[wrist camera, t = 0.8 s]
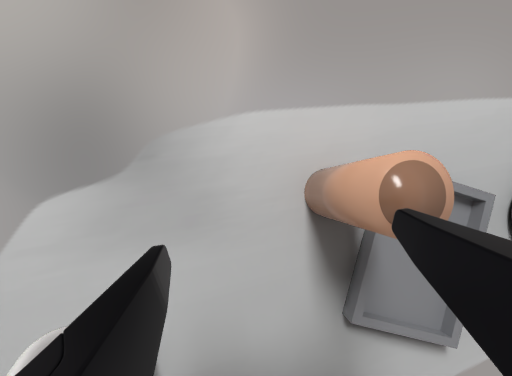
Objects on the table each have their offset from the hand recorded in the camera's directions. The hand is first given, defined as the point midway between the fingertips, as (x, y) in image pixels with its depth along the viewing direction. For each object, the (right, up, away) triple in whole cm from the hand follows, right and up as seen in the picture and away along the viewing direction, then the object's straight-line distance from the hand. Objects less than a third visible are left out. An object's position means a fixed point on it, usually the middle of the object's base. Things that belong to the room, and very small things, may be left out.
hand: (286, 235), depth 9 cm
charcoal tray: (+18, -6, +19) cm, 26 cm away
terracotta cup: (+7, +1, +18) cm, 19 cm away
